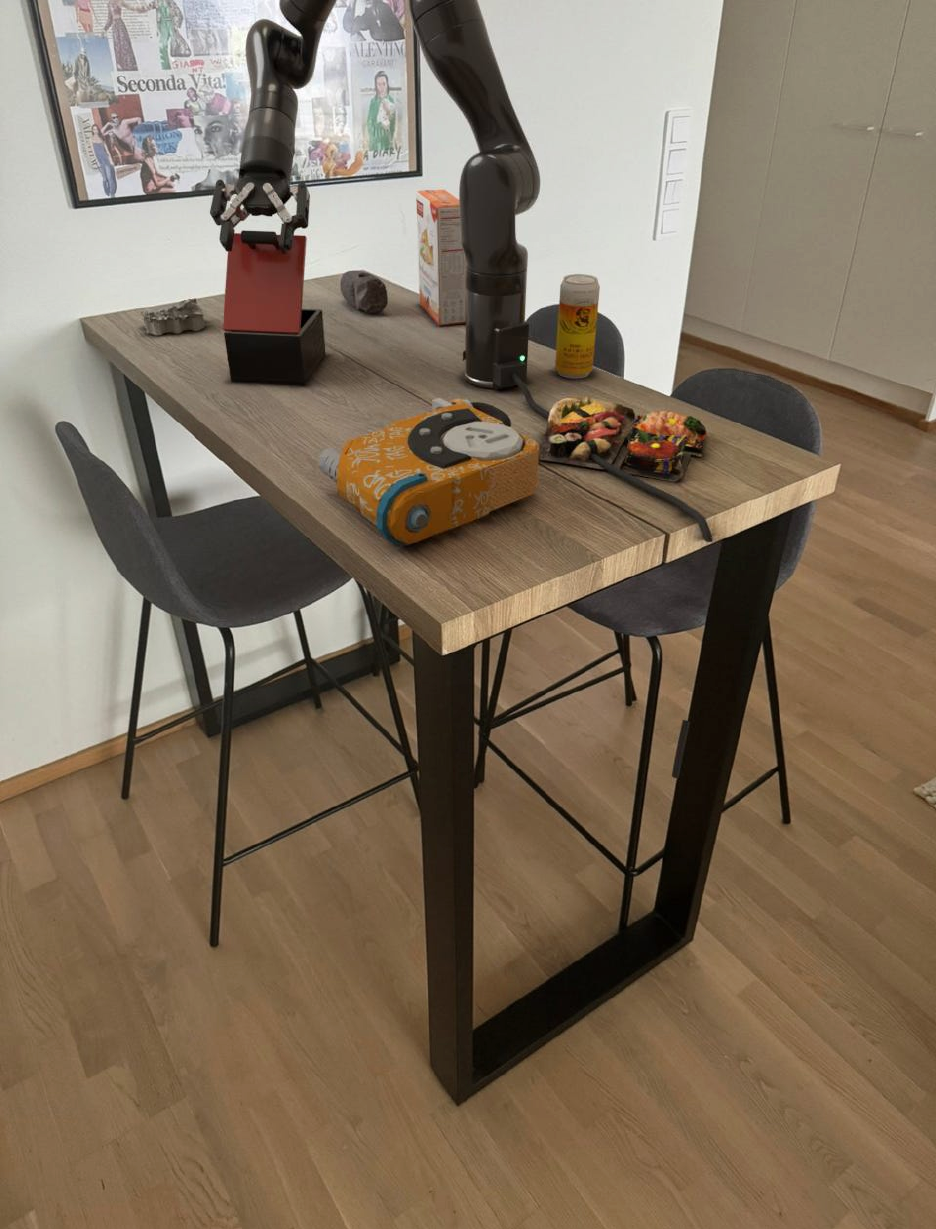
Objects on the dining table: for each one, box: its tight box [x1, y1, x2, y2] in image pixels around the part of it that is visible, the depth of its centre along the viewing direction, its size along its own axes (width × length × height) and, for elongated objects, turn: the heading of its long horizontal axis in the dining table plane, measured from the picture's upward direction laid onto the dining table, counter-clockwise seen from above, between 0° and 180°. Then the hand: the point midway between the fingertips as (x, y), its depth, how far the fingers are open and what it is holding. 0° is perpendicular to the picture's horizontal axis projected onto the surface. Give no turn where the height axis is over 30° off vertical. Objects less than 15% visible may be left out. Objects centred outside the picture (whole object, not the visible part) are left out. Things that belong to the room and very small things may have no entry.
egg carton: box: [140, 297, 206, 337], centre depth 163 cm, size 11×8×4 cm
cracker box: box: [415, 189, 466, 327], centre depth 166 cm, size 14×6×21 cm, turn 17°
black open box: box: [223, 308, 327, 386], centre depth 145 cm, size 14×12×8 cm
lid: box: [222, 229, 308, 334], centre depth 135 cm, size 15×12×5 cm
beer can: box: [554, 273, 601, 379], centre depth 142 cm, size 6×6×15 cm
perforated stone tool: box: [339, 270, 389, 314], centre depth 173 cm, size 15×5×7 cm, turn 31°
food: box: [538, 395, 707, 483], centre depth 123 cm, size 22×19×4 cm
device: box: [317, 397, 540, 547], centre depth 111 cm, size 23×8×30 cm
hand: (255, 249), depth 132 cm, fingers open, 8 cm apart
